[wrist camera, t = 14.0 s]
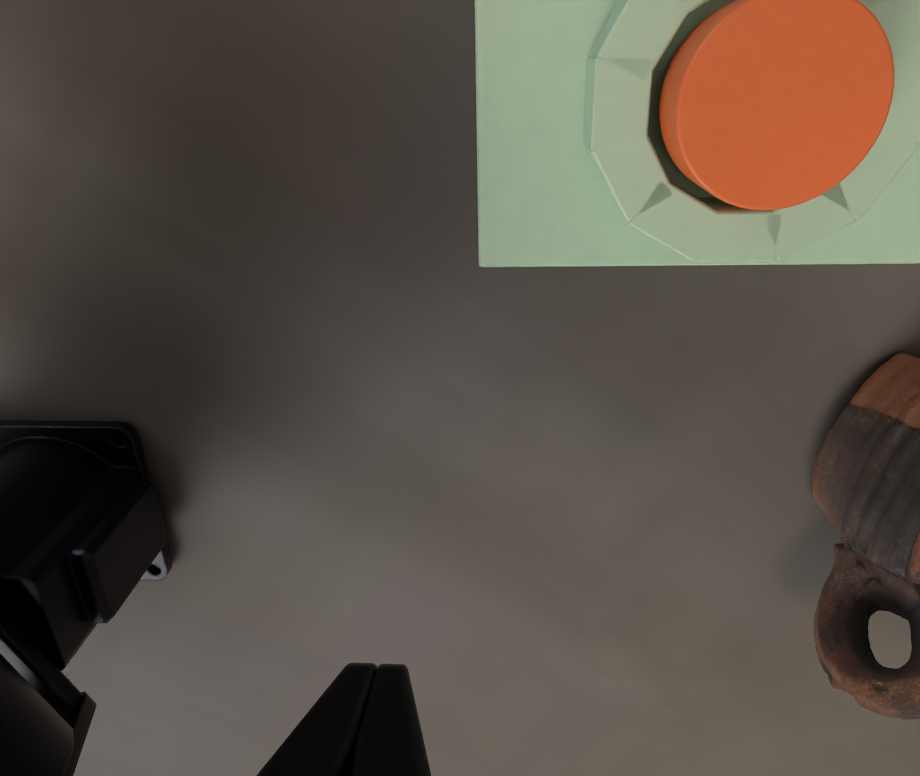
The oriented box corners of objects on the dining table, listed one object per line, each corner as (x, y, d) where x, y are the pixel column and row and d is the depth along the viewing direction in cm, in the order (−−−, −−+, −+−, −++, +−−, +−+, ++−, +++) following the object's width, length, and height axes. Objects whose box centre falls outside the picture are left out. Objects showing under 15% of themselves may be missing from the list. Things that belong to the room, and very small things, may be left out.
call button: (650, 197, 16) (666, 212, 14) (668, -5, 14) (688, -14, 12) (832, 194, 15) (869, 210, 14) (873, -12, 14) (921, -22, 12)
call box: (481, 247, 20) (475, 288, 16) (477, -81, 17) (468, -120, 13) (911, 242, 19) (1004, 285, 16) (1000, -104, 16) (1145, -153, 12)
